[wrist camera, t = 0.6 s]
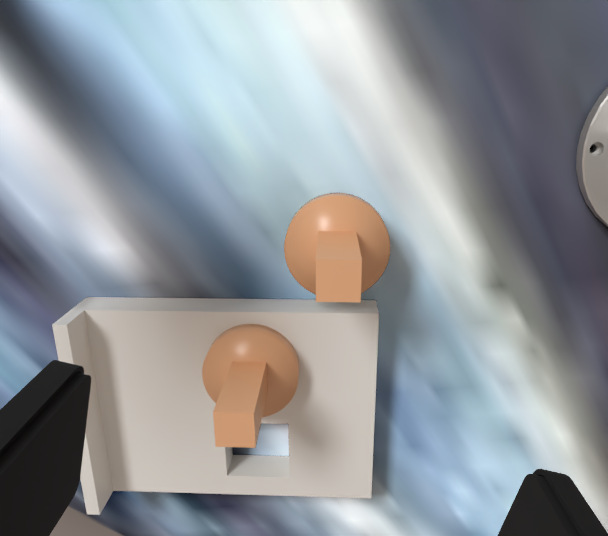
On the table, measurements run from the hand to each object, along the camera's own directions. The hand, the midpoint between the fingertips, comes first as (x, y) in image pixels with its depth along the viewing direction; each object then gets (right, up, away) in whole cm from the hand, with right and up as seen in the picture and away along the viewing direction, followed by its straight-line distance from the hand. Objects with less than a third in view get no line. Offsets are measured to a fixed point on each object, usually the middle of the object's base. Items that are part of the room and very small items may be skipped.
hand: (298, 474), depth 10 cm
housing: (-5, -6, +30) cm, 31 cm away
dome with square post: (+2, +7, +25) cm, 26 cm away
